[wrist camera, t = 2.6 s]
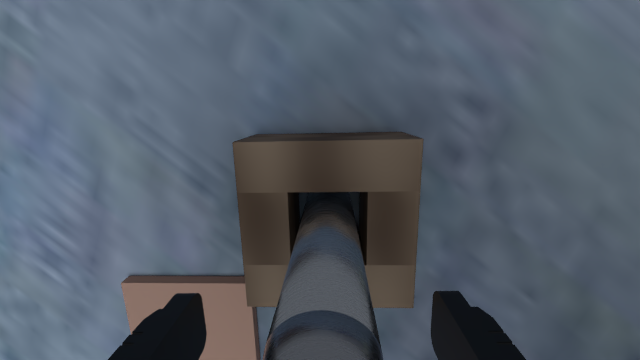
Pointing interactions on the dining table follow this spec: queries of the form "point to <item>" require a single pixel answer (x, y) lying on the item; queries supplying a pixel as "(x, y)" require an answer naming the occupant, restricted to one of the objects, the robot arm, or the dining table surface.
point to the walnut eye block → (330, 176)
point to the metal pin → (325, 290)
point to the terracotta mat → (219, 310)
